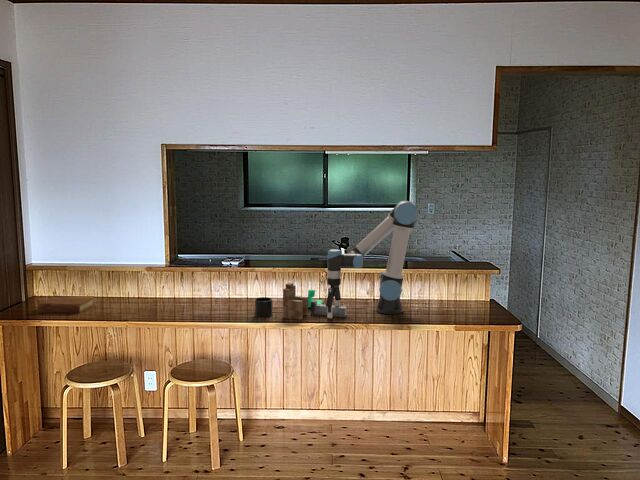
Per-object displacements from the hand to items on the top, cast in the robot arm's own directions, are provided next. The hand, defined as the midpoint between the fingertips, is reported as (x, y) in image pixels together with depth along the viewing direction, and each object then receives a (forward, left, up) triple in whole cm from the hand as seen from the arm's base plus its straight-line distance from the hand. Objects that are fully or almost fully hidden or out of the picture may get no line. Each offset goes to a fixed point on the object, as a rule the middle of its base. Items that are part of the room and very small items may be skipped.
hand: (333, 314), depth 283 cm
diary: (+149, +39, -1) cm, 154 cm away
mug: (+37, +12, 0) cm, 39 cm away
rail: (+3, 0, 0) cm, 3 cm away
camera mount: (+16, -14, -1) cm, 21 cm away
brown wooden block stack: (+19, +9, 0) cm, 21 cm away
